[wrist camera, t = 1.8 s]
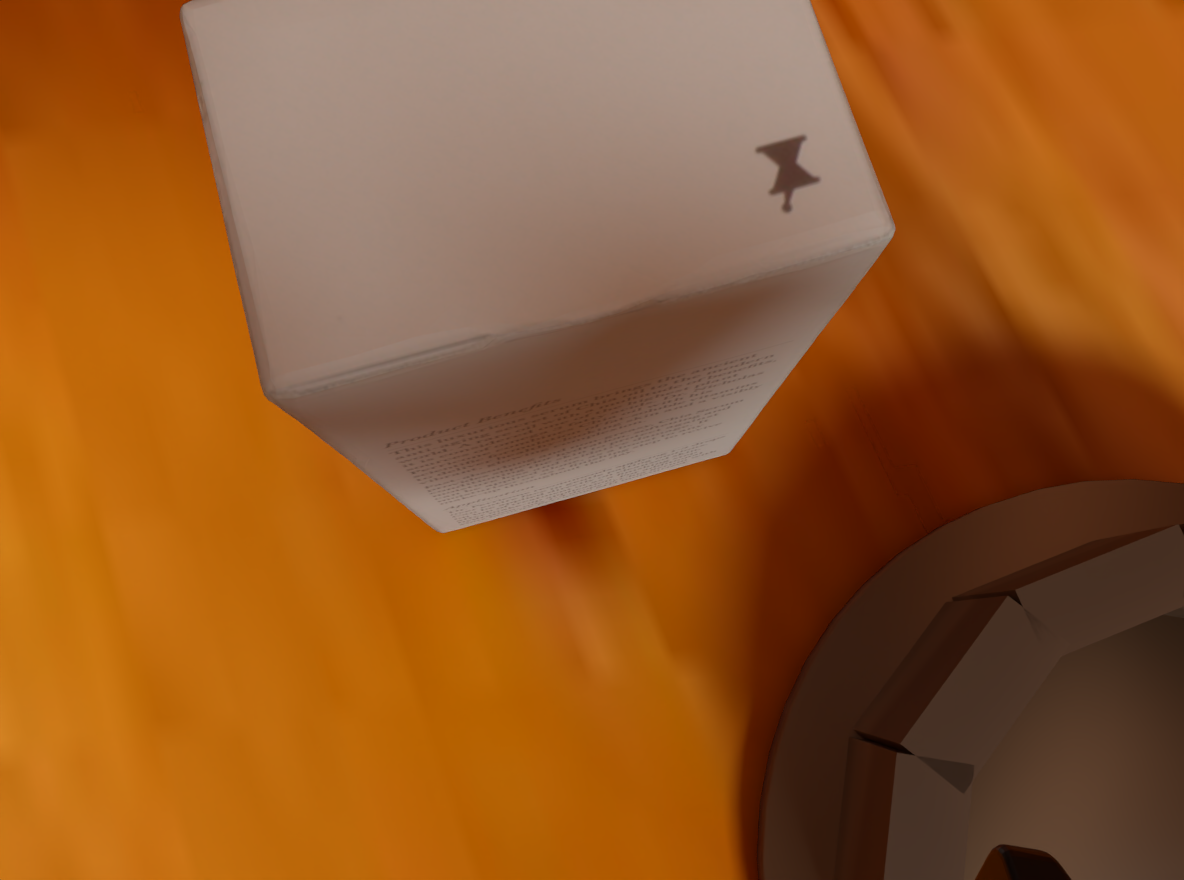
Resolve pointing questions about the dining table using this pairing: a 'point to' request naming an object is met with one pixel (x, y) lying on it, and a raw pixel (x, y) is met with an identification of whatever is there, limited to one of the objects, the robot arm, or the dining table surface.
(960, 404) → the dining table surface
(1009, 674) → the stone fire pit
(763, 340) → the skincare box
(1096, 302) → the dining table surface
